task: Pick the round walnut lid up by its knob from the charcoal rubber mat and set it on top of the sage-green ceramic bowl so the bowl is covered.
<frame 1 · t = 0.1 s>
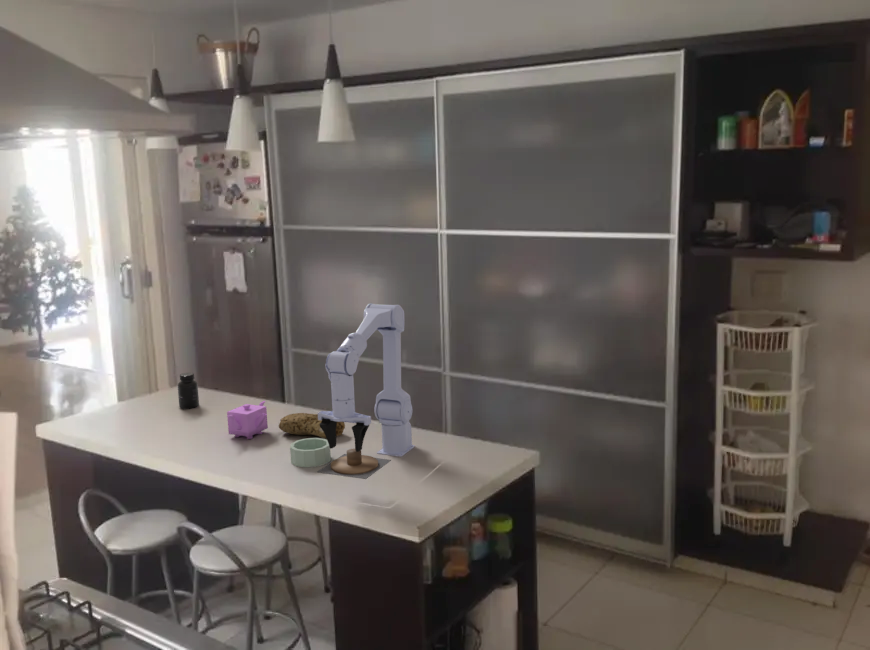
hand: (345, 448, 208), 10 cm above the worktop, fingers open, 7 cm apart
mat: (354, 467, 223), on the worktop
bowl: (311, 461, 228), on the worktop
sponge: (311, 435, 252), on the worktop
lid: (354, 465, 223), resting on mat
supplement bottle: (189, 407, 286), on the worktop
teapot: (250, 435, 253), on the worktop
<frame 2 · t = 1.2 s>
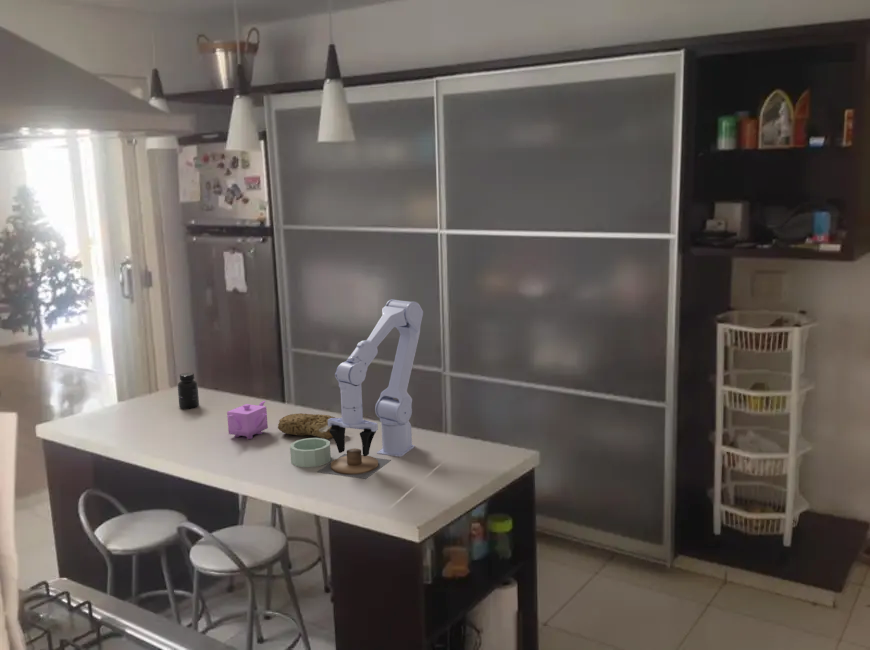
hand: (353, 453, 222), 4 cm above the worktop, fingers open, 7 cm apart
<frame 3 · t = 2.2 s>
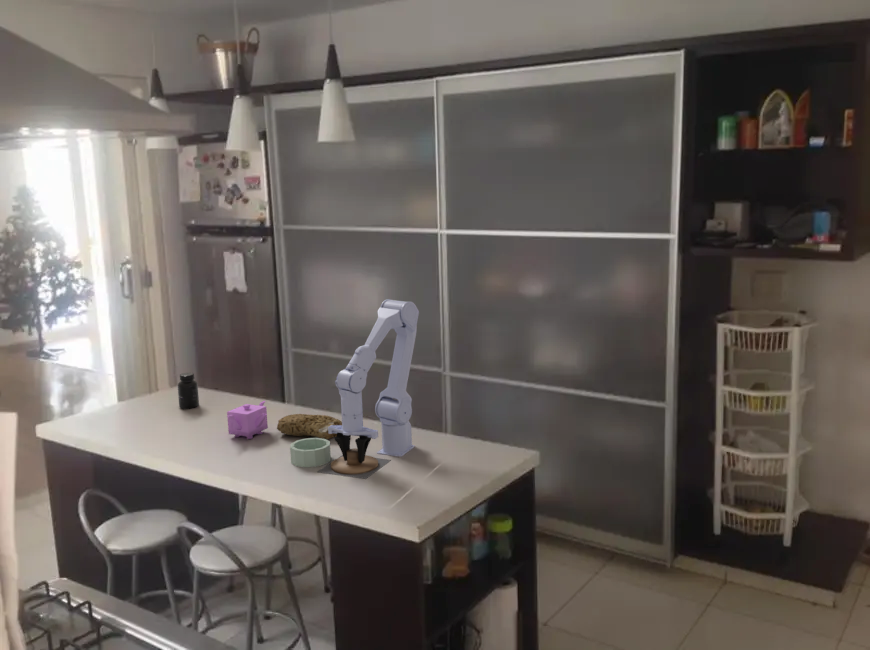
hand: (354, 460, 222), 2 cm above the worktop, fingers closed on lid, 4 cm apart
lid: (354, 465, 223), resting on mat, touching gripper
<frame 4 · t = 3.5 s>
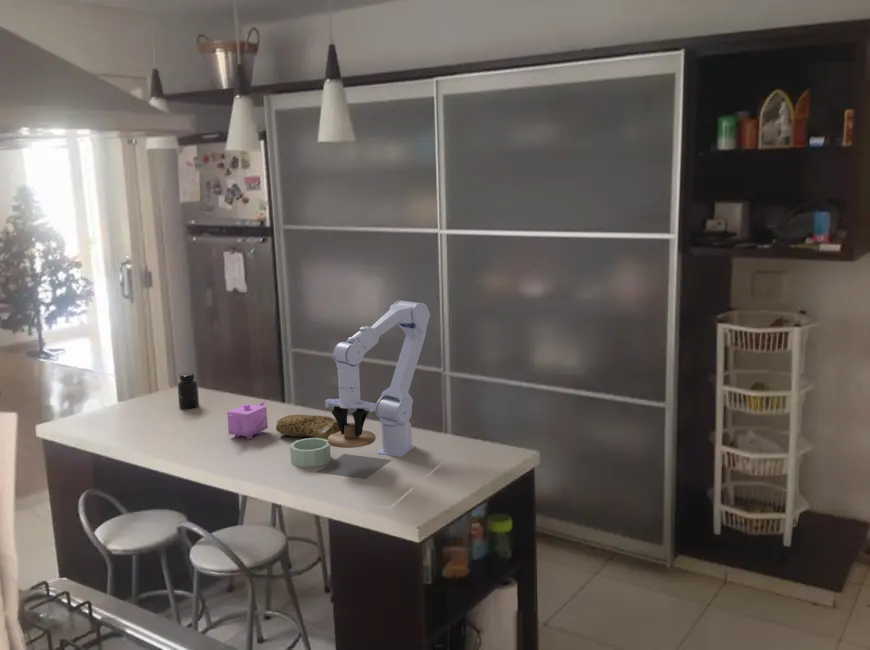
hand: (351, 434, 221), 9 cm above the worktop, fingers closed on lid, 4 cm apart
lid: (351, 440, 221), point 8 cm above the worktop, touching gripper
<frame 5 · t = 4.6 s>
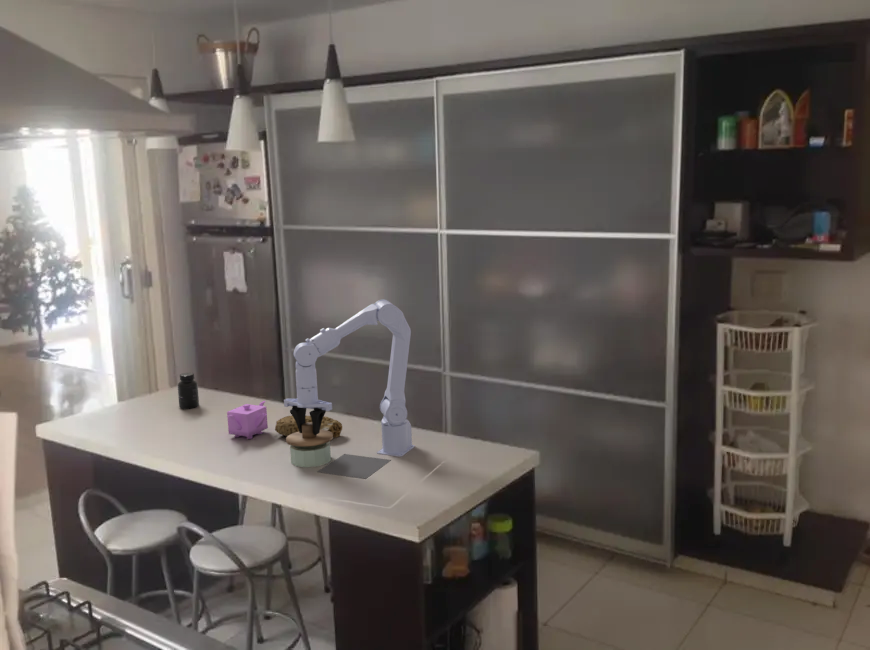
hand: (309, 433, 227), 8 cm above the worktop, fingers closed on lid, 4 cm apart
lid: (309, 439, 227), point 7 cm above the worktop, touching gripper
when the fingers open (7 cm above the worktop, at t = 5.2 s): lid stays where it is, resting on bowl.
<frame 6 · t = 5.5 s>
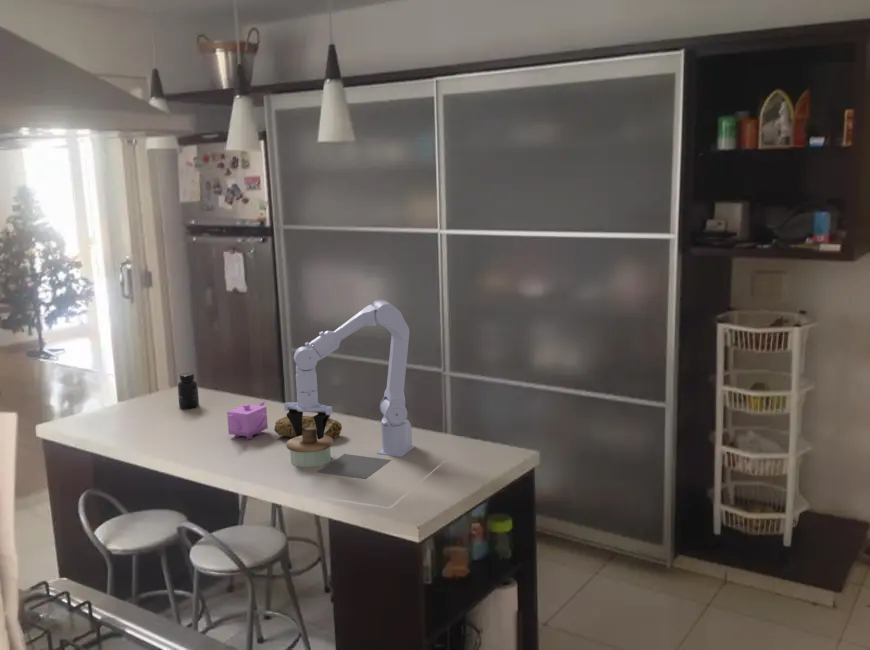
hand: (309, 436, 227), 7 cm above the worktop, fingers open, 6 cm apart
bowl: (311, 461, 228), on the worktop, touching lid
lid: (310, 444, 227), point 5 cm above the worktop, touching bowl
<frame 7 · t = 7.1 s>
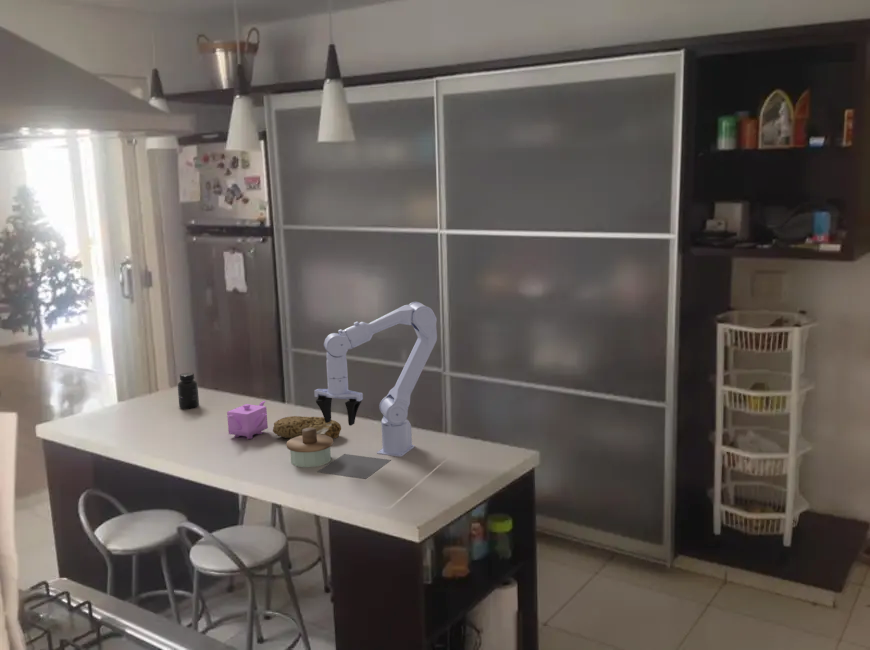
hand: (339, 423, 228), 10 cm above the worktop, fingers open, 7 cm apart
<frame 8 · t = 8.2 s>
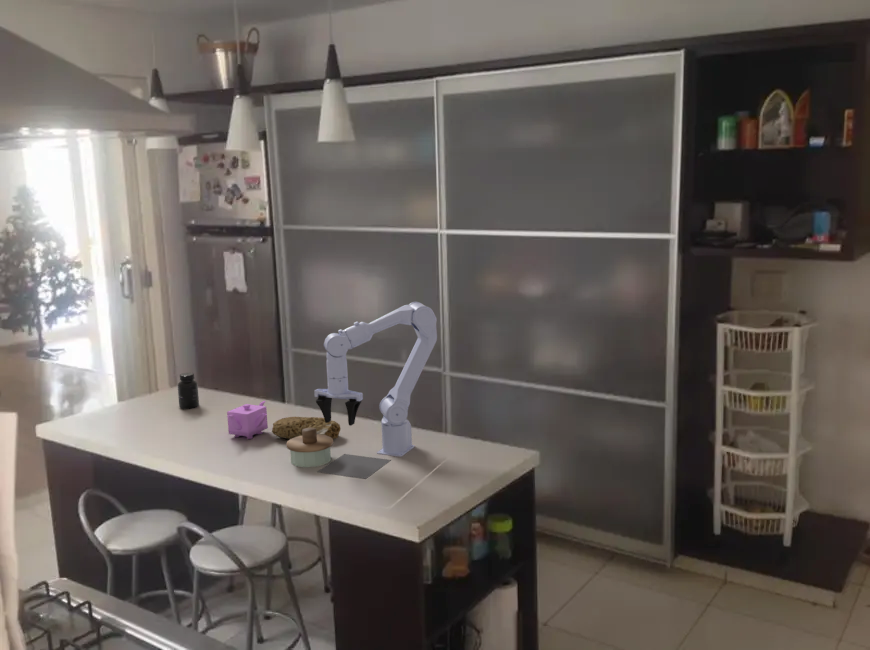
hand: (339, 423, 228), 10 cm above the worktop, fingers open, 7 cm apart
at the end: lid 0.1 cm off-centre on the bowl, point 5.0 cm above the bowl's base; the gripper is holding nothing; bowl tilted 0° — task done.
